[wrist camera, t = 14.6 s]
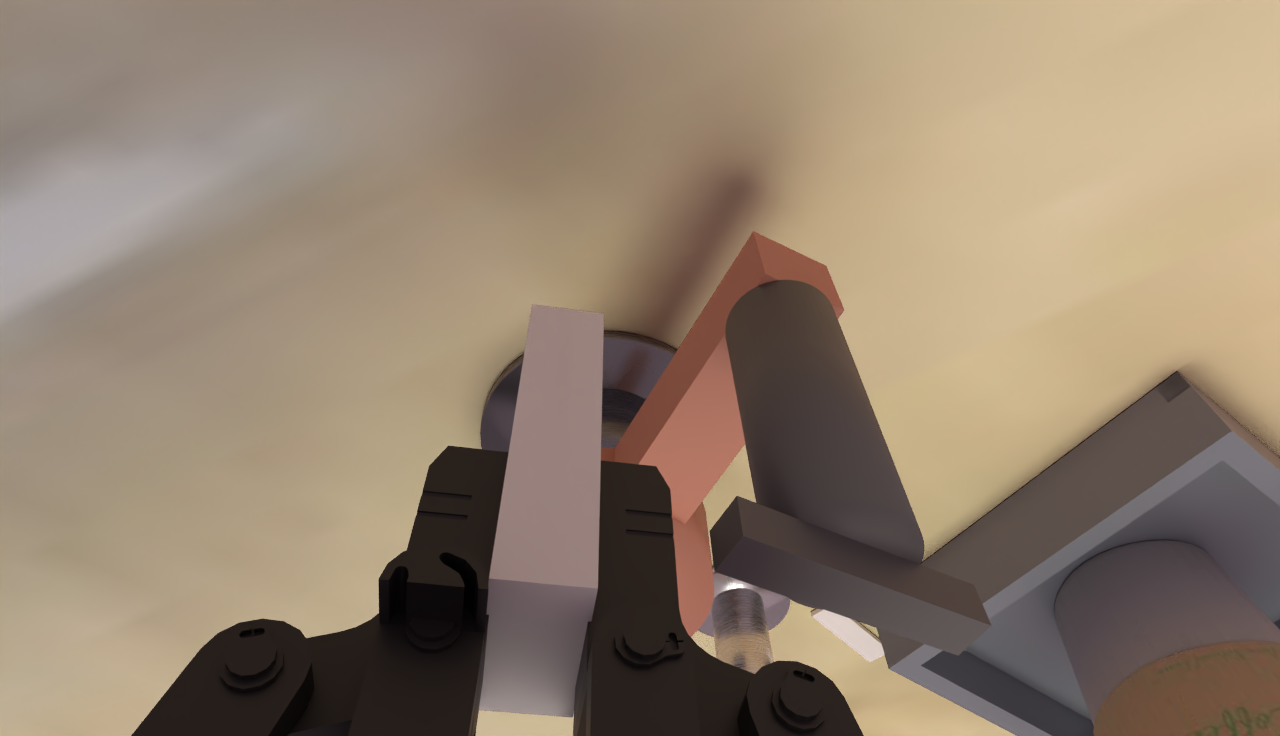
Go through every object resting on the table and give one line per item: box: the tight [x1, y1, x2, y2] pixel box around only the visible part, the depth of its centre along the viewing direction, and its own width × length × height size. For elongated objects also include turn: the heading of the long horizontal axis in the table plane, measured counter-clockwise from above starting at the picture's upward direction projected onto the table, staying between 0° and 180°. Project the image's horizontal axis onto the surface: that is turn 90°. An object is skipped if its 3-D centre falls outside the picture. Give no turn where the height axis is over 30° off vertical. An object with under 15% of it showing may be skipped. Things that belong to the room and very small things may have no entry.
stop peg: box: [698, 566, 790, 674], centre depth 31 cm, size 4×4×7 cm
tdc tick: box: [811, 609, 885, 662], centre depth 35 cm, size 4×1×1 cm, turn 43°
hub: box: [480, 331, 677, 452], centre depth 27 cm, size 8×8×4 cm
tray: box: [877, 371, 1280, 736], centre depth 32 cm, size 14×14×3 cm
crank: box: [601, 231, 992, 656], centre depth 19 cm, size 13×6×10 cm, turn 153°
